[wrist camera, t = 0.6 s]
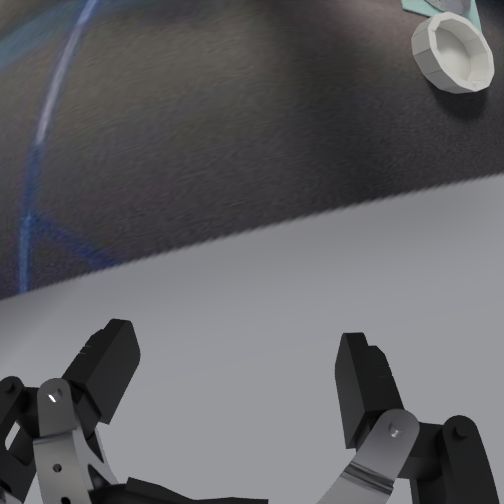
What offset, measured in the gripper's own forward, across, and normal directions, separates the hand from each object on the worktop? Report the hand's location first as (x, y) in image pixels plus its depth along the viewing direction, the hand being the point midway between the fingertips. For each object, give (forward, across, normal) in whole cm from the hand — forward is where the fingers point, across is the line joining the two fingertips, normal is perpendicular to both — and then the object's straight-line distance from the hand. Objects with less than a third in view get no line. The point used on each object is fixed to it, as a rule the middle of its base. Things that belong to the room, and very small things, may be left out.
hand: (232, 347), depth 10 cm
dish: (+28, -24, -21) cm, 42 cm away
